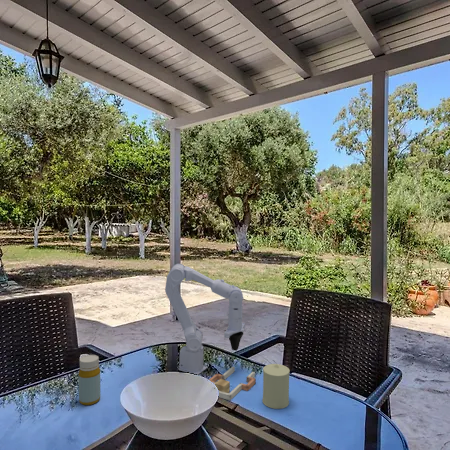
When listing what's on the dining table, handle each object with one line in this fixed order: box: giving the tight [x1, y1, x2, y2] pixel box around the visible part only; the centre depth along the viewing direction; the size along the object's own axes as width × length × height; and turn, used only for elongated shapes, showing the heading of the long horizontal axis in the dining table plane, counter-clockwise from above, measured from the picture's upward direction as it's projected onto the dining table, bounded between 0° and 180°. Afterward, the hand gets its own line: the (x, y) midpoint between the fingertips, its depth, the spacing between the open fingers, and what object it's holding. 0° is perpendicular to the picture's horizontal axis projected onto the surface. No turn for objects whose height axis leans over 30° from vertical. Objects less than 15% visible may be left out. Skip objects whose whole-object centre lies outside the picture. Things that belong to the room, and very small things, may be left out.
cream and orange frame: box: [208, 366, 257, 401], centre depth 141 cm, size 15×20×2 cm
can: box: [262, 363, 291, 410], centre depth 129 cm, size 9×9×12 cm
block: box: [215, 379, 231, 393], centre depth 135 cm, size 4×4×4 cm
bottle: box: [78, 354, 101, 406], centre depth 128 cm, size 7×7×15 cm
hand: (234, 349), depth 153 cm, fingers closed
